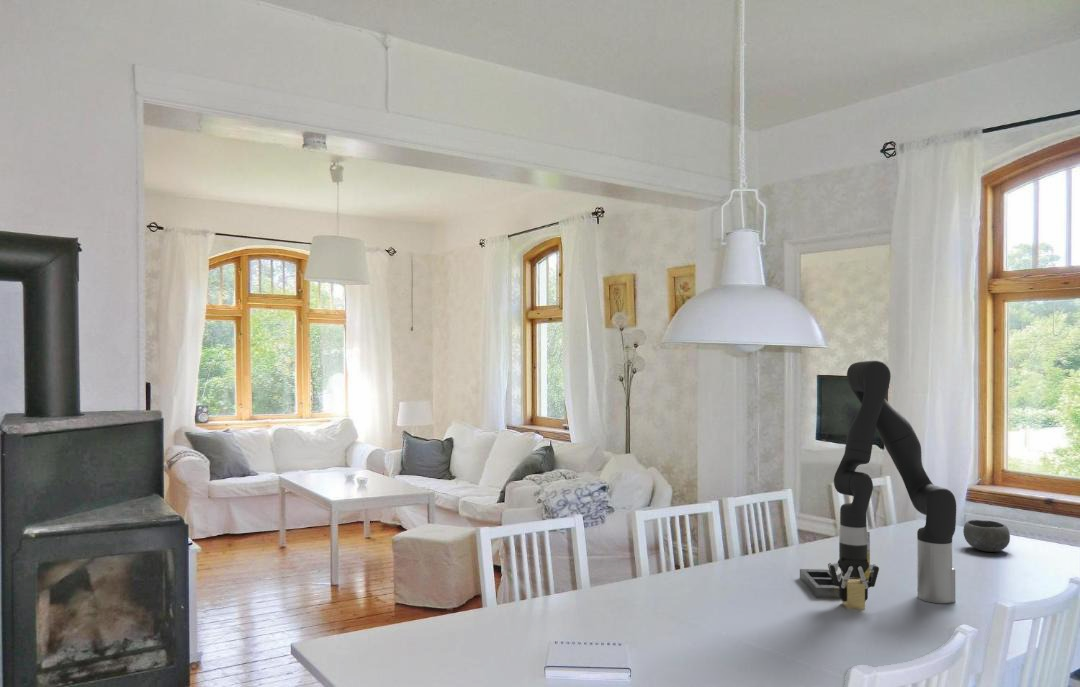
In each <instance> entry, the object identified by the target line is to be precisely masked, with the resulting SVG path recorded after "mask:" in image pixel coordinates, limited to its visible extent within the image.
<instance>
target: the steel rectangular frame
mask: <svg viewBox="0 0 1080 687" xmlns="http://www.w3.org/2000/svg"><path fill="white" fill-rule="evenodd" d="M799 579H800V581H801V582H803V583H804V584H803V585H805V586H806V588H807V589H808V590H809V591H810V593H811V594H813V595H814V596H815V598H817V599H819V598H820V599H841V598H840V596H839V586H835V584H833V582H832V579H831V575H830V571H829V569H819V568H818V569H815V568H814V569H813V568H811V569H810V568H799ZM838 581H840V579H839V578H838Z"/></svg>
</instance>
